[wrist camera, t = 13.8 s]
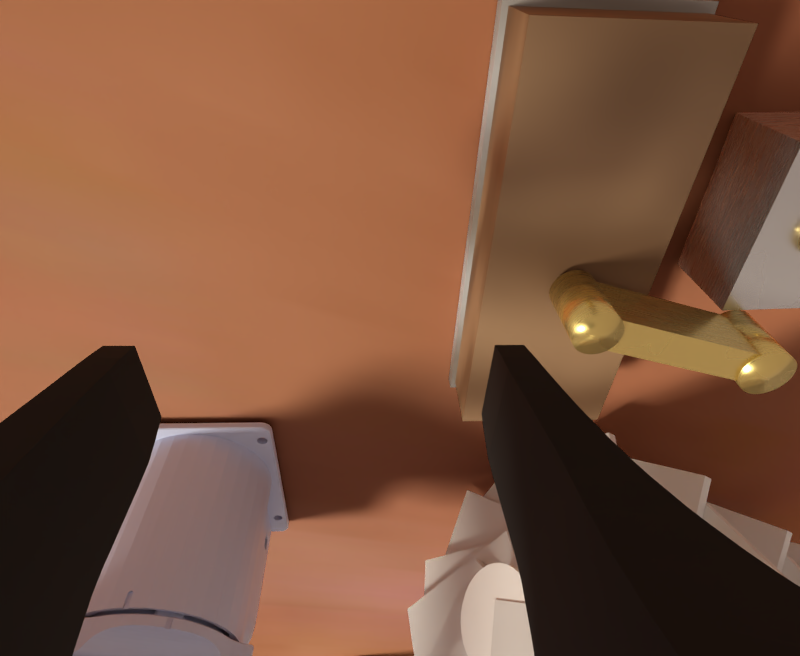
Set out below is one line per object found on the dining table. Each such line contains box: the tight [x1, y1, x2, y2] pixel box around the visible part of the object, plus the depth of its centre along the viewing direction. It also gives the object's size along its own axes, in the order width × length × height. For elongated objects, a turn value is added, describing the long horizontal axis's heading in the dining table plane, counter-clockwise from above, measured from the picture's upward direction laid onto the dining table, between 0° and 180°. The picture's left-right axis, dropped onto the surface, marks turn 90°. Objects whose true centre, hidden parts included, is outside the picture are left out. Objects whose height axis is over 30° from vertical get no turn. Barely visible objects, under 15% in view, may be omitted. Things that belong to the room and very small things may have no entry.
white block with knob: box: [678, 112, 800, 310], centre depth 18 cm, size 6×4×4 cm
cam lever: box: [549, 270, 797, 394], centre depth 17 cm, size 8×2×2 cm, turn 73°
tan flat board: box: [449, 0, 758, 421], centre depth 18 cm, size 16×6×3 cm, turn 178°
